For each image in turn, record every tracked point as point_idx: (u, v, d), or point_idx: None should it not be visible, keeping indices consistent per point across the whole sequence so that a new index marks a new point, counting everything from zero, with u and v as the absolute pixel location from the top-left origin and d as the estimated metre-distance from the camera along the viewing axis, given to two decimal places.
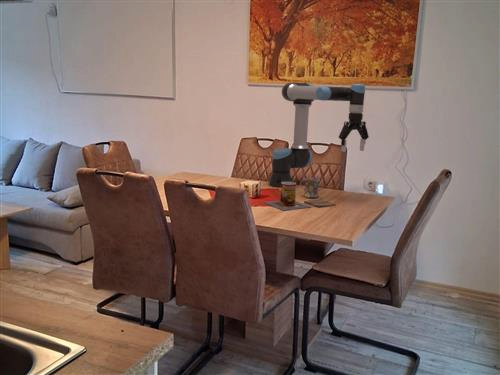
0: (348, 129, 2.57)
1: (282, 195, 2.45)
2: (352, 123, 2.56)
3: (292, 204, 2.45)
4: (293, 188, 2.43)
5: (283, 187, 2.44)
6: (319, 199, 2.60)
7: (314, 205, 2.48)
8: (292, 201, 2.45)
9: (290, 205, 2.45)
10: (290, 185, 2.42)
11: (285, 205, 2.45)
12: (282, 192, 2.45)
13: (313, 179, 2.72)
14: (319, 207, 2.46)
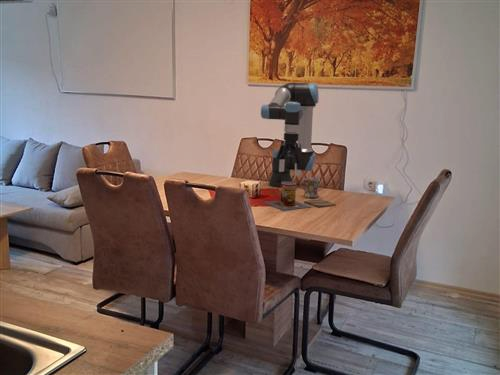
0: None
1: (282, 195, 2.45)
2: (285, 143, 2.44)
3: (292, 204, 2.45)
4: (293, 188, 2.43)
5: (283, 187, 2.44)
6: (319, 199, 2.60)
7: (314, 205, 2.48)
8: (292, 201, 2.45)
9: (290, 205, 2.45)
10: (290, 185, 2.42)
11: (285, 205, 2.45)
12: (282, 192, 2.45)
13: (313, 179, 2.72)
14: (319, 207, 2.46)
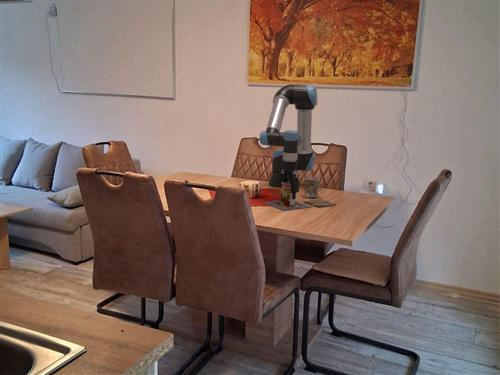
0: None
1: (282, 195, 2.45)
2: (284, 170, 2.47)
3: None
4: None
5: (283, 187, 2.44)
6: (319, 199, 2.60)
7: (314, 205, 2.48)
8: None
9: (290, 205, 2.45)
10: (290, 185, 2.42)
11: (285, 205, 2.45)
12: (282, 192, 2.45)
13: (313, 179, 2.72)
14: (319, 207, 2.46)
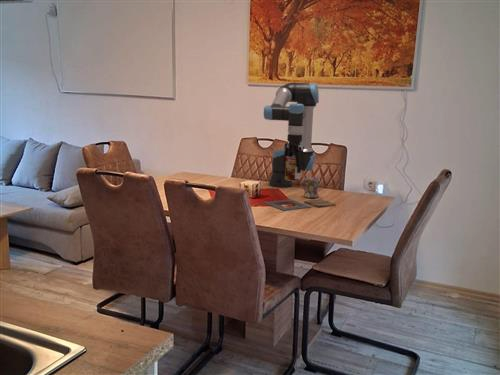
0: None
1: (287, 169, 2.43)
2: (289, 144, 2.44)
3: None
4: None
5: (288, 161, 2.42)
6: (319, 199, 2.60)
7: (314, 205, 2.48)
8: None
9: (295, 179, 2.42)
10: (295, 159, 2.40)
11: (290, 179, 2.43)
12: (287, 166, 2.43)
13: (313, 179, 2.72)
14: (319, 207, 2.46)
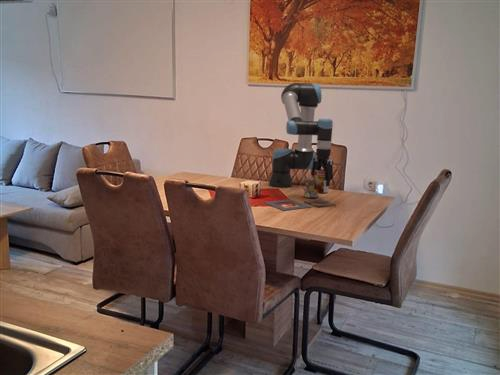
0: None
1: (316, 182, 2.49)
2: (317, 158, 2.50)
3: None
4: None
5: (317, 174, 2.47)
6: (319, 199, 2.60)
7: (314, 205, 2.48)
8: None
9: None
10: (324, 172, 2.46)
11: (319, 192, 2.48)
12: (316, 179, 2.48)
13: None
14: (319, 207, 2.46)
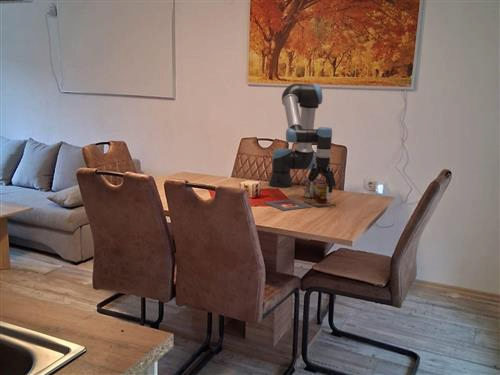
0: None
1: (315, 192, 2.50)
2: (317, 166, 2.51)
3: (325, 201, 2.50)
4: (326, 186, 2.48)
5: (316, 185, 2.49)
6: None
7: (314, 205, 2.48)
8: (325, 198, 2.50)
9: (323, 202, 2.50)
10: (323, 183, 2.47)
11: (318, 202, 2.50)
12: (315, 189, 2.50)
13: None
14: (319, 207, 2.46)
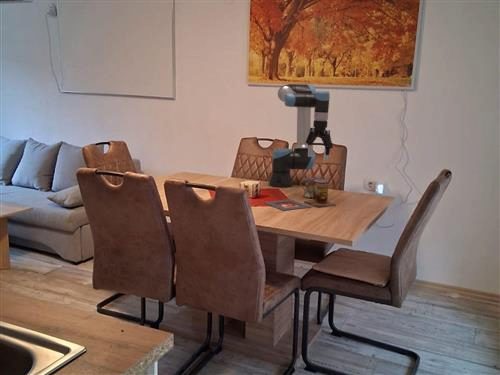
0: None
1: (315, 192, 2.50)
2: (314, 130, 2.58)
3: (325, 201, 2.50)
4: (326, 186, 2.48)
5: (316, 185, 2.49)
6: None
7: (314, 205, 2.48)
8: (325, 198, 2.50)
9: (323, 202, 2.50)
10: (323, 183, 2.47)
11: (318, 202, 2.50)
12: (315, 189, 2.50)
13: (313, 179, 2.72)
14: (319, 207, 2.46)
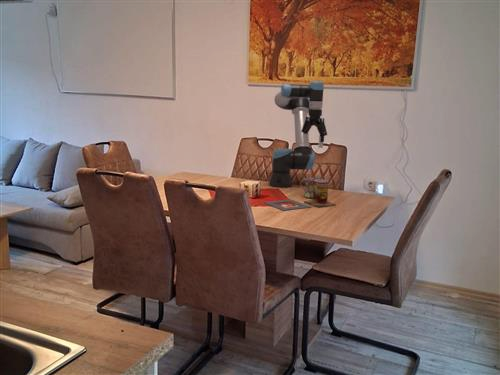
0: None
1: (315, 192, 2.50)
2: (310, 118, 2.69)
3: (325, 201, 2.50)
4: (326, 186, 2.48)
5: (316, 185, 2.49)
6: None
7: (314, 205, 2.48)
8: (325, 198, 2.50)
9: (323, 202, 2.50)
10: (323, 183, 2.47)
11: (318, 202, 2.50)
12: (315, 189, 2.50)
13: (313, 179, 2.72)
14: (319, 207, 2.46)
